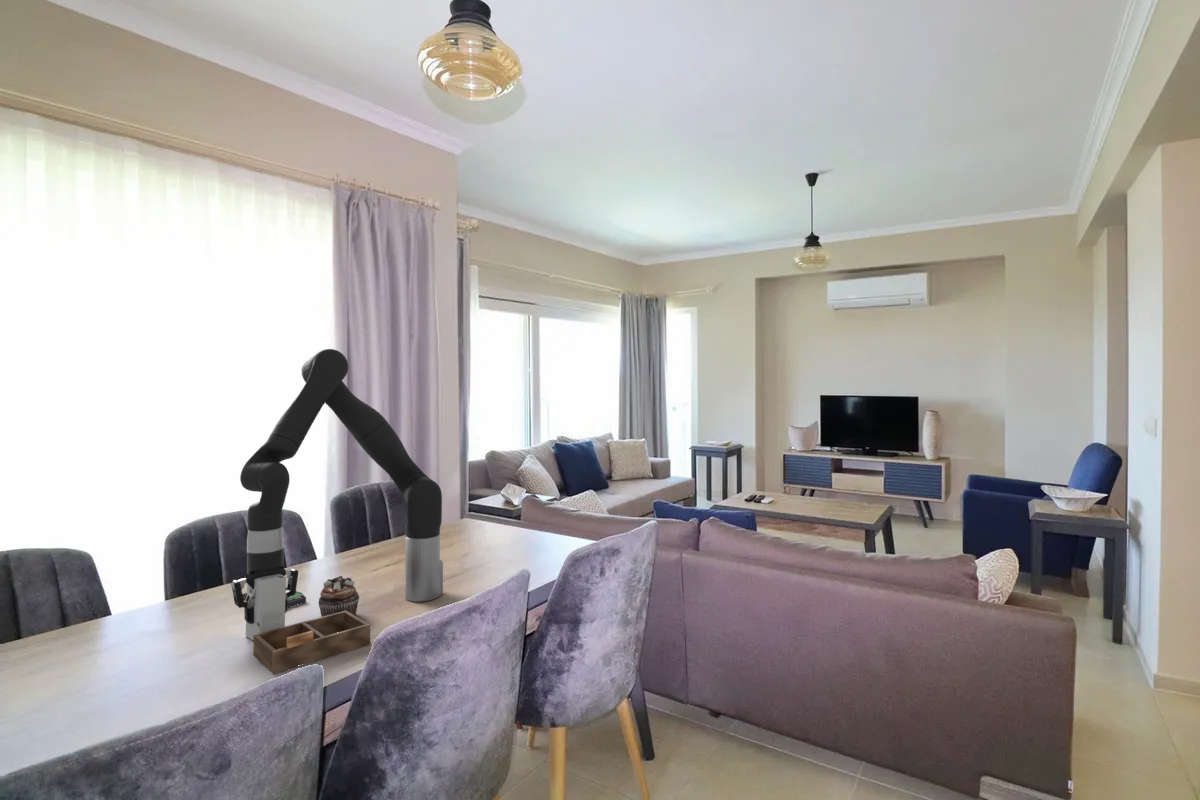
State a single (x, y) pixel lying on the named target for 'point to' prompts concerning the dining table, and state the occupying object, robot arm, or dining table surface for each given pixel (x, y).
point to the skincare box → (268, 604)
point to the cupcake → (338, 596)
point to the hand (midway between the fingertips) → (266, 618)
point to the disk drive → (289, 599)
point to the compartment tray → (310, 641)
